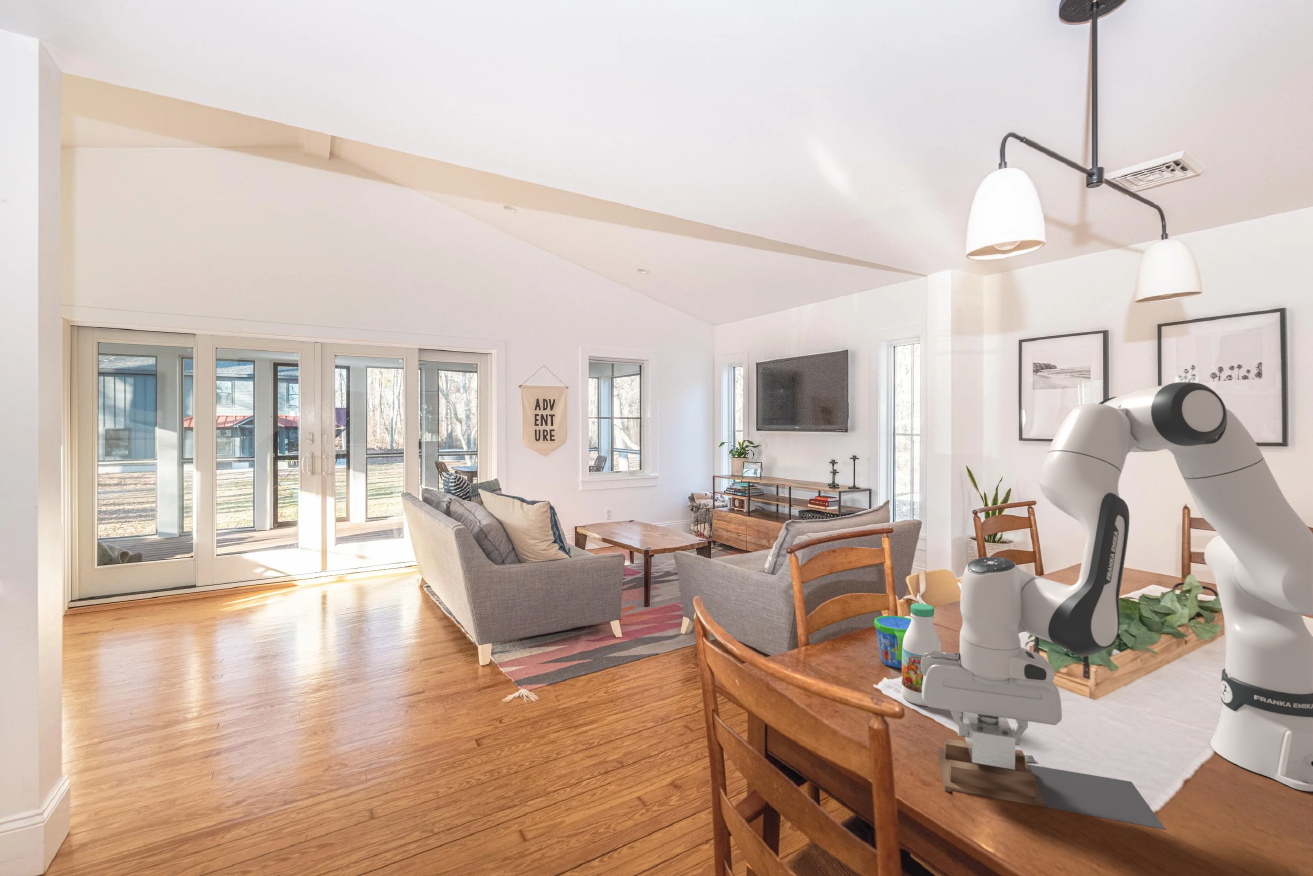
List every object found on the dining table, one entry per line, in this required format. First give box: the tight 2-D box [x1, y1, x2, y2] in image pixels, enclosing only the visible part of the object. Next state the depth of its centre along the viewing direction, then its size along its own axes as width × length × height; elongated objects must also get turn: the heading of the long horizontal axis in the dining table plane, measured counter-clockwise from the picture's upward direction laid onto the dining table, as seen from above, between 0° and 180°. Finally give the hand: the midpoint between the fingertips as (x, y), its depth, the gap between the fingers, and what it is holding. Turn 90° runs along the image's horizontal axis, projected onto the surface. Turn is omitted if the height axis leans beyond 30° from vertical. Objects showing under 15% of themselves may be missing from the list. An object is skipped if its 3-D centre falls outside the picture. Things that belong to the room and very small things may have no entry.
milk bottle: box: [901, 602, 942, 707], centre depth 128 cm, size 8×8×20 cm
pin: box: [1024, 754, 1035, 764], centre depth 105 cm, size 4×1×1 cm
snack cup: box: [873, 615, 912, 669], centre depth 146 cm, size 16×10×10 cm
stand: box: [936, 737, 1046, 808], centre depth 100 cm, size 14×12×3 cm
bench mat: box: [1027, 763, 1166, 830], centre depth 95 cm, size 16×12×1 cm
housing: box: [962, 712, 1016, 770], centre depth 100 cm, size 10×6×6 cm, turn 161°
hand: (987, 739), depth 100 cm, fingers closed on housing, 6 cm apart
